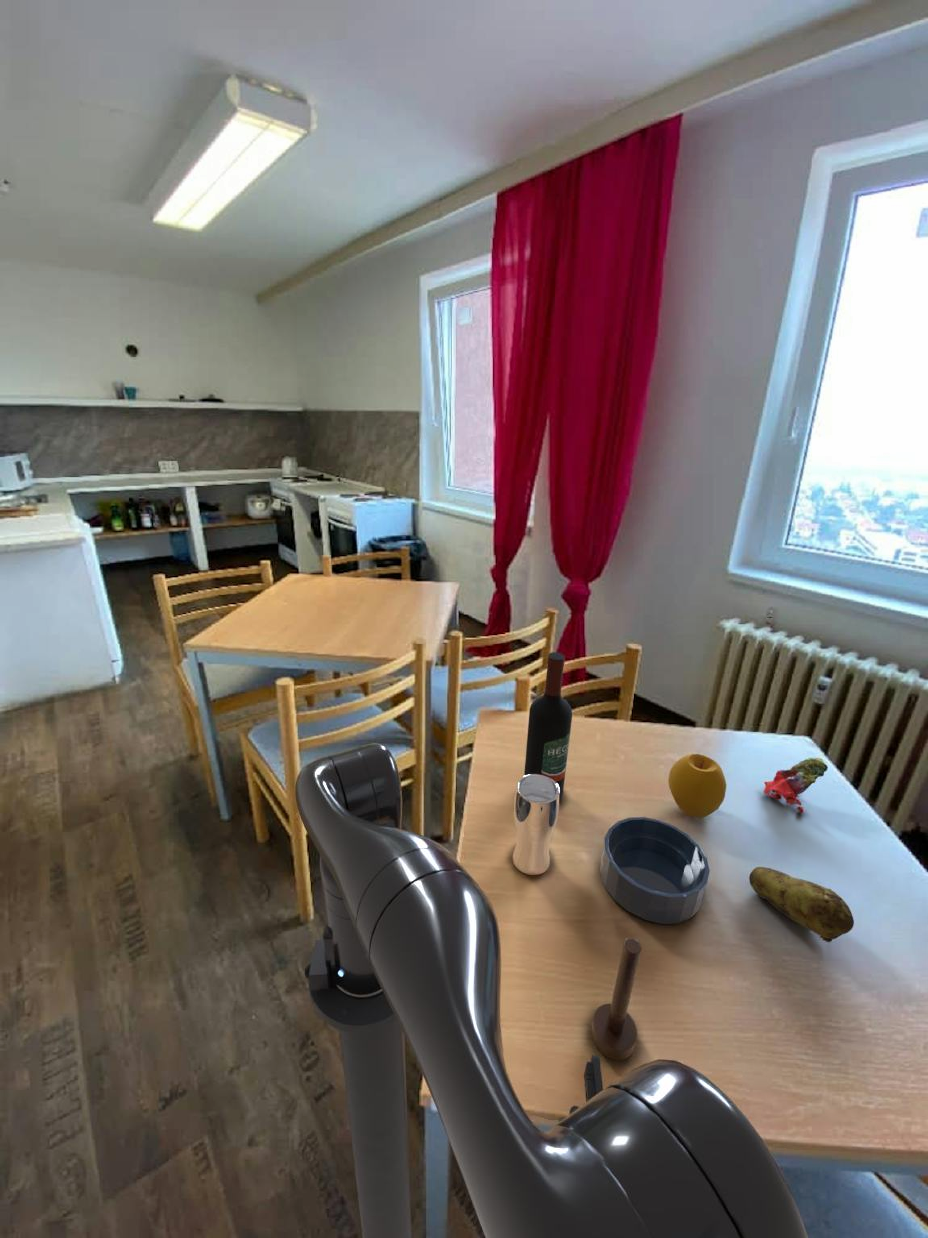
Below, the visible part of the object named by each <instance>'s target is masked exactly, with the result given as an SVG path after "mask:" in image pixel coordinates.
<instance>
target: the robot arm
mask: <svg viewBox="0 0 928 1238" xmlns="http://www.w3.org/2000/svg"><path fill="white" fill-rule="evenodd" d="M294 787H295V790H294V791H295V794H294V795H295V802H296V806H297V811H298V814H299V817H300V819H301V822H302V825H303V827H304V829H305V831H306V833H307V835H308V837H309V839H310V840H311V843H312V845H313V846H314V847H315V849H316V851H317V852H318V854H319V873H320V882H321V891H322V898H323V907H324V917H325V921H324V926H323V932H322V937H323V940H321V939H316V940H315V941H314V945H313V946H314V947H313V952H312V954H313V956H312V955H311V957H312V961H311V963H310V962H309V964H308V965H307V966H305V968H304V976H305V977H306V978H307V980H308V979H309V983H310V989H311V990H320V989H329V988H337V989H338V990H339V991H340V992H341V993H343V994H344V995H346V996H348V997H350V998H353V999H370V998H373V997H376V996H378V995H380V994H382V993H384V995H385V997H386V999H387V1001H388V1003H389V1005H390V1007H391V1009H392V1011H393V1013H394V1015H395V1017H396V1019H397V1021H398V1023H399V1025H400V1027H401V1029H402V1031H403V1034H404V1039H405V1040H406V1042H407V1044H408V1046H409V1048H410V1050H411V1053H412V1055H413V1057H414V1059H415V1061H416V1063H417V1066H418V1068H419V1070H420V1072H421V1074H422V1077H423V1079H424V1081H425V1083H426V1086H427V1088H428V1091H429V1093H430V1096H431V1099H432V1101H433V1103H434V1105H435V1107H436V1111H437V1113H438V1116H439V1118H440V1122H441V1123H442V1126H443V1129H444V1131H445V1134H446V1136H447V1139H448V1141H449V1144H450V1147H451V1150H452V1152H453V1154H454V1158H455V1160H456V1163H457V1166H458V1168H459V1171H460V1174H461V1177H462V1179H463V1181H464V1184H465V1186H466V1187H465V1188H466V1190H467V1192H468V1195H469V1197H470V1200H471V1203H472V1206H473V1208H474V1210H475V1214H476V1216H477V1218H478V1221H479V1224H480V1227H481V1229H482V1232H483V1235H484V1237H485V1238H810V1237H809V1234H808V1232H807V1229H806V1226H805V1223H804V1220H803V1217H802V1214H801V1211H800V1207H799V1206H798V1203H797V1200H796V1199H795V1197H794V1195H793V1192H792V1190H791V1187H790V1186H789V1184H788V1181H787V1179H786V1177H785V1175H784V1173H783V1171H782V1169H781V1168H780V1165H779V1164H778V1162H777V1161H776V1159H775V1157H774V1155H773V1153H772V1152H771V1151H770V1149H769V1148H768V1145H767V1144H766V1142H765V1141H764V1139H763V1137H762V1136H761V1135H760V1134H759V1132H758V1131H757V1130H756V1128H755V1127H754V1125H753V1124H752V1123H751V1121H750V1120H749V1119H748V1117H747V1116H746V1115H745V1114H744V1112H742V1110H741V1109H740V1108H739V1107H738V1105H736V1104H735V1102H733V1100H732V1099H731V1098H730V1097H729V1096H728V1095H727V1094H726V1093H725V1092H724V1091H723V1090H722V1089H721V1088H719V1087H718V1086H717V1085H716V1084H715V1083H714V1082H713V1081H711V1080H710V1079H709V1078H708V1077H706V1076H705V1075H704V1074H703V1073H701V1072H700V1071H699V1070H697V1069H695V1068H694V1067H692V1066H689V1065H687V1064H685V1063H682V1062H679V1061H677V1060H674V1059H666V1058H665V1059H664V1058H661V1059H659V1058H658V1059H655V1060H651V1061H649V1062H646V1063H644V1064H641V1065H639V1066H637V1067H635V1068H633V1069H631V1070H630V1071H628V1072H626V1073H624V1074H623V1075H621V1076H620V1077H619V1078H616V1080H614V1081H613V1082H612V1083H610V1084H609V1085H608V1086H606V1087H605V1088H604V1086H603V1077H602V1065H601V1060H600V1059H601V1058H600V1055H595V1054H591V1056H590V1060H589V1061H586V1064H585V1066H584V1074H583V1082H584V1096H585V1103H583V1104H582V1105H581V1106H578V1105H573V1106H570V1109H569V1114H568V1115H567V1116H566V1117H564V1118H563V1119H561V1120H560V1121H559V1122H558V1123H556V1124H554V1126H553V1127H552V1128H550V1129H549V1130H547V1131H544V1130H542V1129H541V1128H540V1127H538V1126H537V1124H535V1122H534V1121H533V1120H532V1119H531V1118H530V1116H529V1115H528V1113H527V1111H526V1110H525V1108H524V1107H523V1105H522V1103H521V1101H520V1099H519V1097H518V1096H517V1093H516V1090H515V1089H514V1087H513V1084H512V1081H511V1078H510V1076H509V1073H508V1071H507V1067H506V1061H505V1055H504V1045H503V1036H502V1035H503V1033H502V1024H501V1023H502V1022H501V991H502V990H501V985H502V946H501V935H500V928H499V923H498V918H497V915H496V911H495V910H494V907H493V904H492V902H491V900H490V899H489V897H488V896H487V894H486V893H485V891H484V890H483V889H482V887H481V886H480V885H479V884H478V882H477V881H476V880H475V879H474V878H473V876H471V874H470V873H469V872H468V871H467V870H466V869H465V867H463V865H462V864H461V863H460V861H458V859H457V858H456V857H455V855H453V854H452V853H451V851H449V849H447V848H446V847H444V846H443V845H442V844H441V843H439V842H437V841H436V840H434V839H431V838H430V837H427V836H425V835H422V834H420V833H417V832H414V831H411V830H407V829H403V828H402V821H403V791H402V790H403V789H402V781H401V774H400V771H399V768H398V764H397V761H396V759H395V758H394V756H393V754H392V752H391V751H390V750H389V749H388V748H387V747H386V746H385V745H383V744H381V743H378V742H377V743H376V742H374V743H373V742H372V743H368V744H364V745H361V746H358V747H354V748H350V749H347V750H343V751H340V752H335V753H332V754H330V755H329V754H328V755H326V756H323V757H320V758H317V759H315V760H313V761H311V762H309V763H307V764H306V765H304V766H302V768H301V769H300V770H299V773H298V775H297V777H296V780H295V786H294Z"/></svg>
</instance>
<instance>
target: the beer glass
mask: <svg viewBox="0 0 928 1238" xmlns="http://www.w3.org/2000/svg"><path fill="white" fill-rule="evenodd" d="M559 792H560V790H559V786H558V784H557V783H556V782H555V781H554V780H553V779H551V778H550V777H547V776H545V775H541V774H529V775H526V776H524V775H523V776H522V777H520V779H519V780H518V781H517V783H516V789H515V793H514V794H515V795H514V800H513V801H514V802H513V822H514V823H513V824H514V830H515V838H516V843H515V847H514V850H513V853H512V862H513V865H514V866H515V868H516V869H517V870H518V871H520V872H521V873H523V874H525V875H529V876H538V875H542V874H544V873H545V872H546V871H547V870H548V869H549V867H550V864H551V863H550V862H551V857H550V850H549V849H550V844H551V841H552V839H553V836H554V833H555V830H556V826H557V823H558V819H559V812H560V805H559Z"/></svg>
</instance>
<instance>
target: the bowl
mask: <svg viewBox="0 0 928 1238" xmlns="http://www.w3.org/2000/svg"><path fill="white" fill-rule="evenodd" d="M599 869H600V871H599V872H600V874H599V875H600V877H601V880H602V882H603V885H604V888H605V889H606V891H607V892H608V893H609V895H610V896H611V897H612V899H613V900H614V901H615V902H616V903H618V904H619V905H620V906H621V907H622V908H624V909H625V910H626V911H627V912H629V913H631V914H632V915H635V916H637V917H639V918H640V919H642V920H645V921H648V922H652V923H658V924H661V925H668V924H670V925H671V924H680V923H682V922H685V921H688V920H689V919H691V918H693V917H694V916H695V914H696V913H697V912H698V911H699V910H700V908H701V907H702V902H703V899H704V895H705V891H706V888H707V884H708V880H709V876H710V872H711V871H710V870H711V869H710V866H709V861H708V858H707V856H706V854H705V853H704V851H703V849H702V848H701V846H700V845H699V844H698V843H697V841H695V840H694V838H692V837H691V836H690V835H689V834H687V833H686V832H685V831H683V830H681V829H680V828H678V827H676V826H675V825H673V824H670V823H668V822H665V821H663V820H661V819H657V818H656V819H655V818H651V817H646V816H637V817H636V816H631V817H627V818H624V819H621V820H618V821H616V822H615V823H614V824H613V825H611V826H610V827H609V828H608V830H607V832H606V834H605V836H604V839H603V846H602V852H601V858H600V868H599Z"/></svg>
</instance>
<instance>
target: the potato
mask: <svg viewBox="0 0 928 1238" xmlns="http://www.w3.org/2000/svg"><path fill="white" fill-rule="evenodd" d="M748 881H749V884H750V886H751V887H752V889H753V891H754V892H755V893H756V895H758V896H759V897H760V898H761V899H764V900H767V901H768V902H769V904H770V905H772V907H774V908H775V909H776V910H777V911H778V912H780V913H781V914H782V915H784V916H785V917H787V918H788V919H790V920H791V921H793V922H795V923H797V924H799V925H801V926H803V927H805V928H807V929H808V930H810V931H811V932H813V933H814V934H816V935H818V936H819V937H820V938H821V940H822V941H824V942H825V943H831V942H832V941H833V940H835V939H837V938H839V937H842V936H843V935H847V934H848V933H849V932H851V931H852V929H853V928H854V924H855V920H854V916H853V914H852V911H851V908H850V906H849V905H848V903H847V902H846V901H845V900H844V899H843V898H842V897H841V896H840V895H839V894H838V893H836V892H835V891H833V890H832V889H831V888H827V887H825V886H822V885H820V884H818V883H815V882H812V881H809V880H805V879H802V878H797V877H793V876H791V875H789V874H787V873H785V872H782V871H779V870H777V869H774V868H771V867H766V866H757V867H755V868H754V869H752V871H751V872H750V874H749V877H748Z"/></svg>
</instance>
